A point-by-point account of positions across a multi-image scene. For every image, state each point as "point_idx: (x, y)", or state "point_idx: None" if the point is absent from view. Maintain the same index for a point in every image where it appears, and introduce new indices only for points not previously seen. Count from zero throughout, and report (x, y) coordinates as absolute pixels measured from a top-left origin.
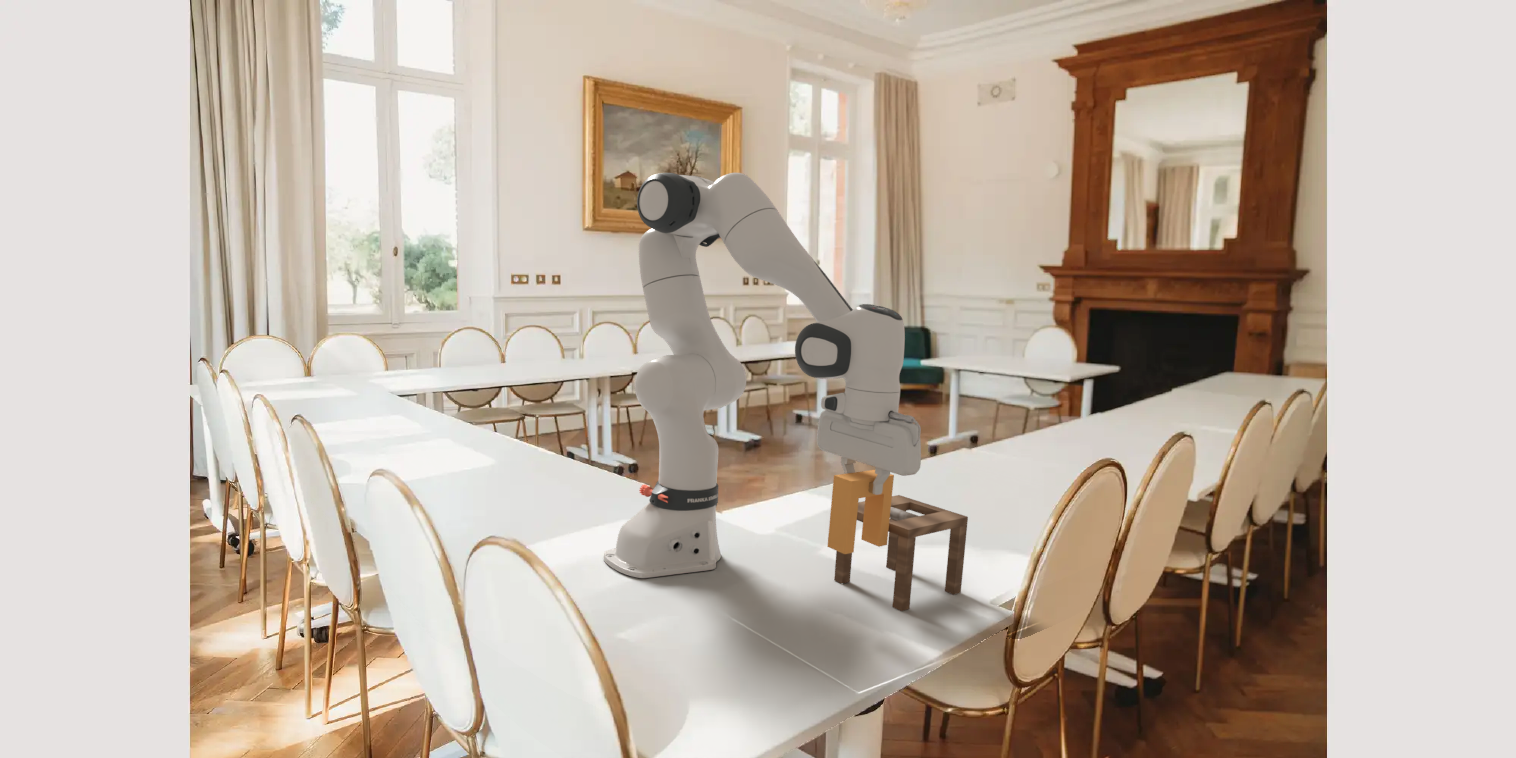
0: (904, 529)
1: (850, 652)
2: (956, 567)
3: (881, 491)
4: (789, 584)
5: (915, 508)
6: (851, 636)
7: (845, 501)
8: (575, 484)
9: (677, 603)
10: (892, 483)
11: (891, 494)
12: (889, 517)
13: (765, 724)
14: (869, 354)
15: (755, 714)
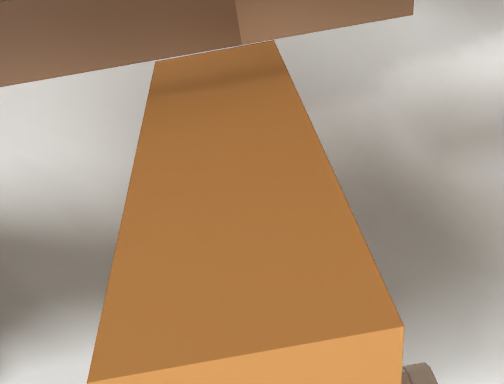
0: (377, 17)
1: (411, 206)
2: None
3: (431, 377)
4: (11, 143)
5: None
6: (358, 167)
7: None
8: None
9: (86, 366)
10: (369, 259)
11: (337, 187)
12: (300, 99)
13: (483, 376)
14: None
15: (459, 377)
